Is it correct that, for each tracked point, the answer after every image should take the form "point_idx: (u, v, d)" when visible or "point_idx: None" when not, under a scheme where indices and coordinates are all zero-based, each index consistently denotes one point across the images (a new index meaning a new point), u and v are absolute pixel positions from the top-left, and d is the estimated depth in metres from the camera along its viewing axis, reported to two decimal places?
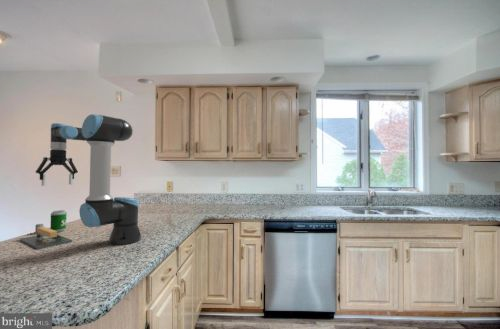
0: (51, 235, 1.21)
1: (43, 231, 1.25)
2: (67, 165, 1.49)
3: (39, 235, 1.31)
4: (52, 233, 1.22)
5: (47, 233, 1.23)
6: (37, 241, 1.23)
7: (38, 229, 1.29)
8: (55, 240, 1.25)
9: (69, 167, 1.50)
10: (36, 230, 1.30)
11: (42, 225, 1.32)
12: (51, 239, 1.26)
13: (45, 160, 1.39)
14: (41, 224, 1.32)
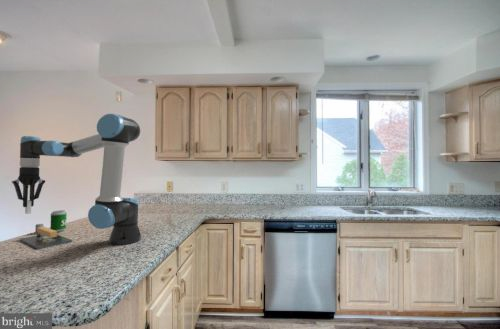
0: (51, 235, 1.21)
1: (43, 231, 1.25)
2: (34, 187, 1.24)
3: (39, 235, 1.31)
4: (52, 233, 1.22)
5: (47, 233, 1.23)
6: (37, 241, 1.23)
7: (38, 229, 1.29)
8: (55, 240, 1.25)
9: None
10: (36, 230, 1.30)
11: (42, 225, 1.32)
12: (51, 239, 1.26)
13: (16, 184, 1.19)
14: (41, 224, 1.32)
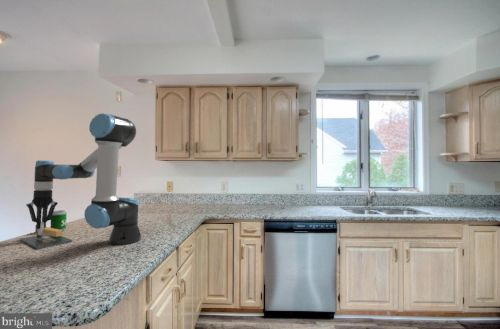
0: (57, 234, 1.23)
1: (46, 231, 1.26)
2: None
3: (39, 235, 1.31)
4: (58, 232, 1.24)
5: (52, 232, 1.24)
6: (37, 241, 1.23)
7: None
8: (55, 240, 1.25)
9: (46, 213, 1.29)
10: (36, 230, 1.30)
11: None
12: (51, 239, 1.26)
13: (31, 207, 1.23)
14: None
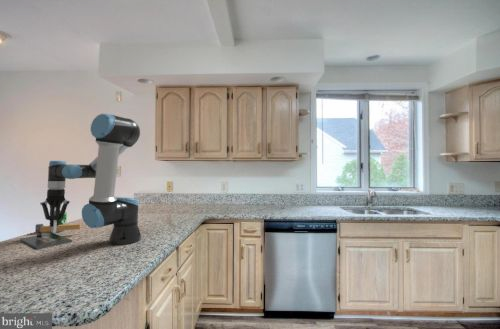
0: (79, 227, 1.39)
1: (60, 227, 1.35)
2: (59, 208, 1.33)
3: (39, 235, 1.31)
4: (80, 225, 1.39)
5: (72, 226, 1.37)
6: (37, 241, 1.23)
7: (47, 228, 1.32)
8: (55, 240, 1.25)
9: (59, 211, 1.33)
10: (40, 230, 1.31)
11: None
12: (51, 239, 1.26)
13: (45, 205, 1.28)
14: (41, 224, 1.33)
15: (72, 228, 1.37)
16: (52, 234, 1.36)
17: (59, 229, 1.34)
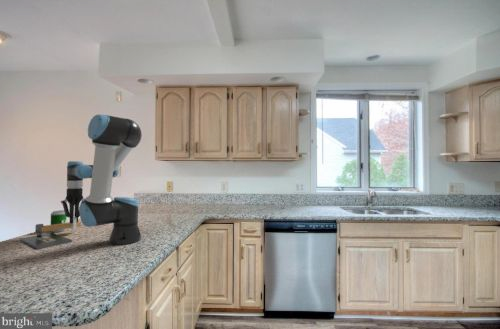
0: None
1: (62, 225, 1.38)
2: (78, 206, 1.41)
3: (39, 235, 1.31)
4: None
5: None
6: (37, 241, 1.23)
7: (48, 227, 1.34)
8: (55, 240, 1.25)
9: (78, 209, 1.41)
10: (41, 229, 1.31)
11: None
12: (51, 239, 1.26)
13: (65, 204, 1.36)
14: (41, 224, 1.33)
15: None
16: (52, 234, 1.36)
17: (60, 228, 1.37)
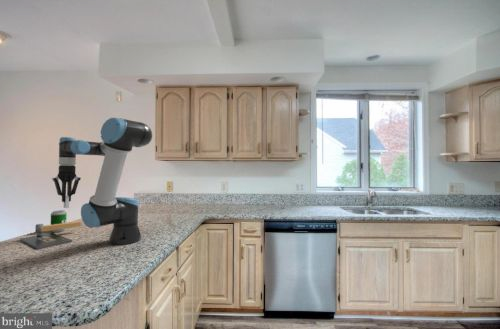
0: None
1: (62, 225, 1.38)
2: (71, 184, 1.36)
3: (39, 235, 1.31)
4: None
5: (73, 224, 1.42)
6: (37, 241, 1.23)
7: (48, 227, 1.34)
8: (55, 240, 1.25)
9: (71, 187, 1.36)
10: (41, 229, 1.31)
11: None
12: (51, 239, 1.26)
13: (56, 181, 1.30)
14: (41, 224, 1.33)
15: (73, 226, 1.42)
16: (52, 234, 1.36)
17: (60, 228, 1.38)
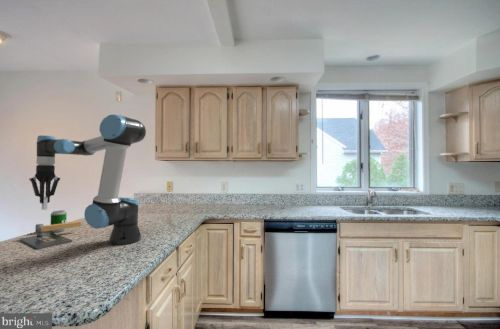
0: None
1: (62, 225, 1.38)
2: None
3: (39, 235, 1.31)
4: None
5: (73, 224, 1.42)
6: (37, 241, 1.23)
7: (48, 227, 1.34)
8: (55, 240, 1.25)
9: None
10: (41, 229, 1.31)
11: None
12: (51, 239, 1.26)
13: (33, 181, 1.24)
14: (41, 224, 1.33)
15: (73, 226, 1.42)
16: (52, 234, 1.36)
17: (60, 228, 1.38)
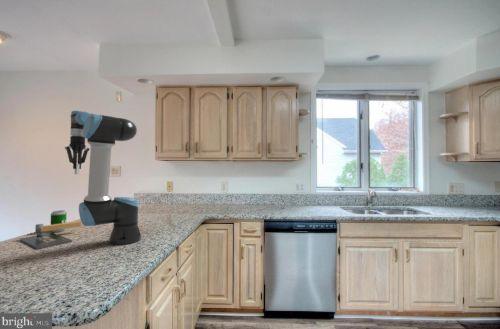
0: None
1: (62, 225, 1.38)
2: (81, 153, 1.51)
3: (39, 235, 1.31)
4: None
5: (73, 224, 1.42)
6: (37, 241, 1.23)
7: (48, 227, 1.34)
8: (55, 240, 1.25)
9: (81, 156, 1.52)
10: (41, 229, 1.31)
11: None
12: (51, 239, 1.26)
13: (68, 149, 1.46)
14: (41, 224, 1.33)
15: (73, 226, 1.42)
16: (52, 234, 1.36)
17: (60, 228, 1.38)
